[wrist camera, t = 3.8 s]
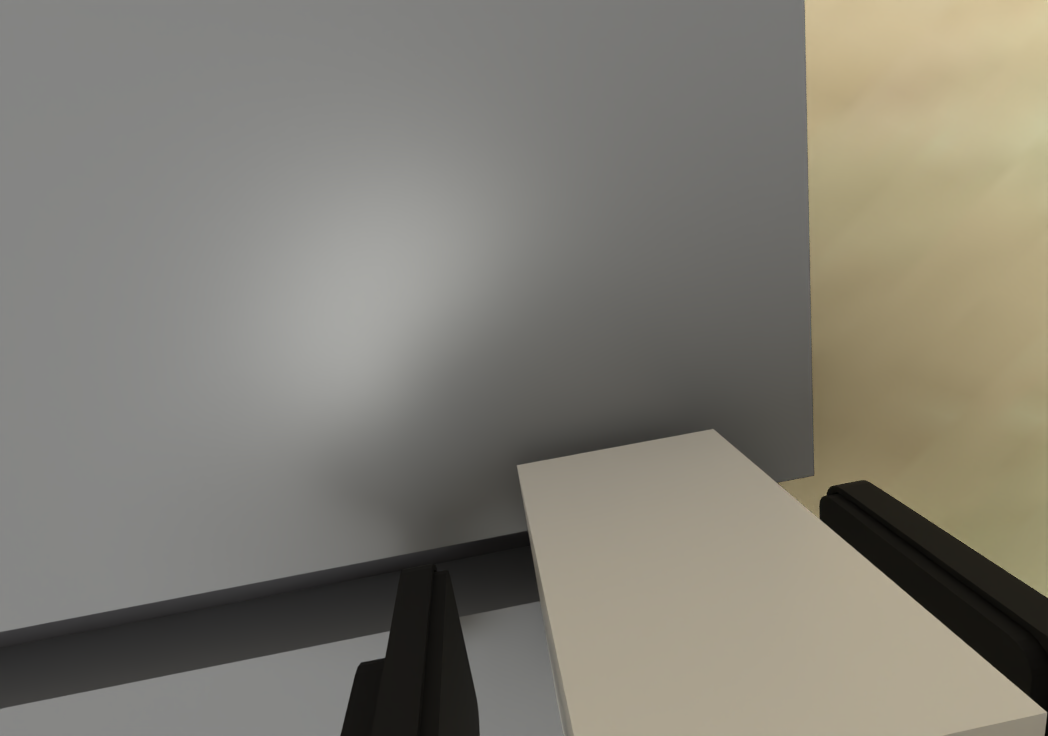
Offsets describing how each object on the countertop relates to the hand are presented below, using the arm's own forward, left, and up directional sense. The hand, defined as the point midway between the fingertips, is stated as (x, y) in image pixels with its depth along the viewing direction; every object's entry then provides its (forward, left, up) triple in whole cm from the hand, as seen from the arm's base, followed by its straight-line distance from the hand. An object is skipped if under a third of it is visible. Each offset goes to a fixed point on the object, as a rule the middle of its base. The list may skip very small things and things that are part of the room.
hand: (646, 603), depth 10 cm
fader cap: (0, 0, -3) cm, 3 cm away
